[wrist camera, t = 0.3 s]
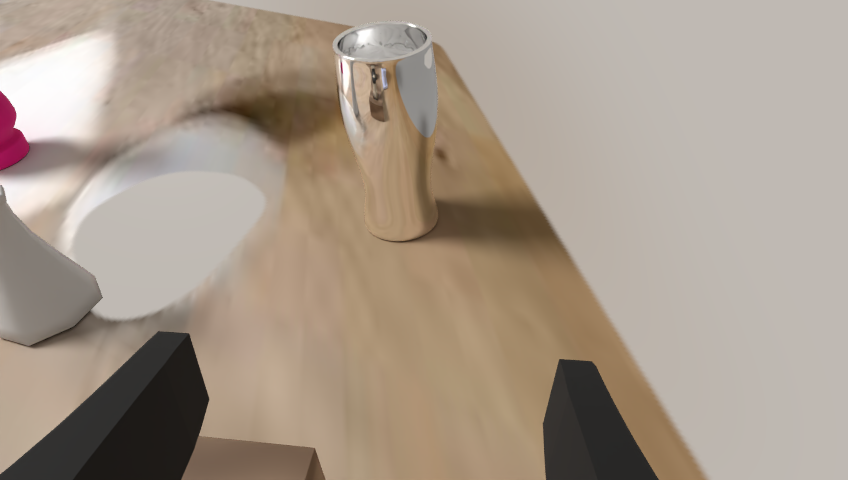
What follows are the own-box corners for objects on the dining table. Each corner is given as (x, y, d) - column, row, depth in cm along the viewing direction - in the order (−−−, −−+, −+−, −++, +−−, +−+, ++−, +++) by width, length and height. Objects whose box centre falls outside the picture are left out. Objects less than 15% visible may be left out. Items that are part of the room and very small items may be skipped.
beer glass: (425, 185, 52) (413, 12, 42) (457, 231, 47) (451, 47, 37) (349, 206, 50) (318, 31, 41) (373, 255, 45) (344, 70, 36)
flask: (-23, 317, 43) (-112, 207, 36) (72, 261, 47) (7, 153, 41) (23, 363, 39) (-66, 251, 33) (122, 297, 44) (59, 186, 37)
